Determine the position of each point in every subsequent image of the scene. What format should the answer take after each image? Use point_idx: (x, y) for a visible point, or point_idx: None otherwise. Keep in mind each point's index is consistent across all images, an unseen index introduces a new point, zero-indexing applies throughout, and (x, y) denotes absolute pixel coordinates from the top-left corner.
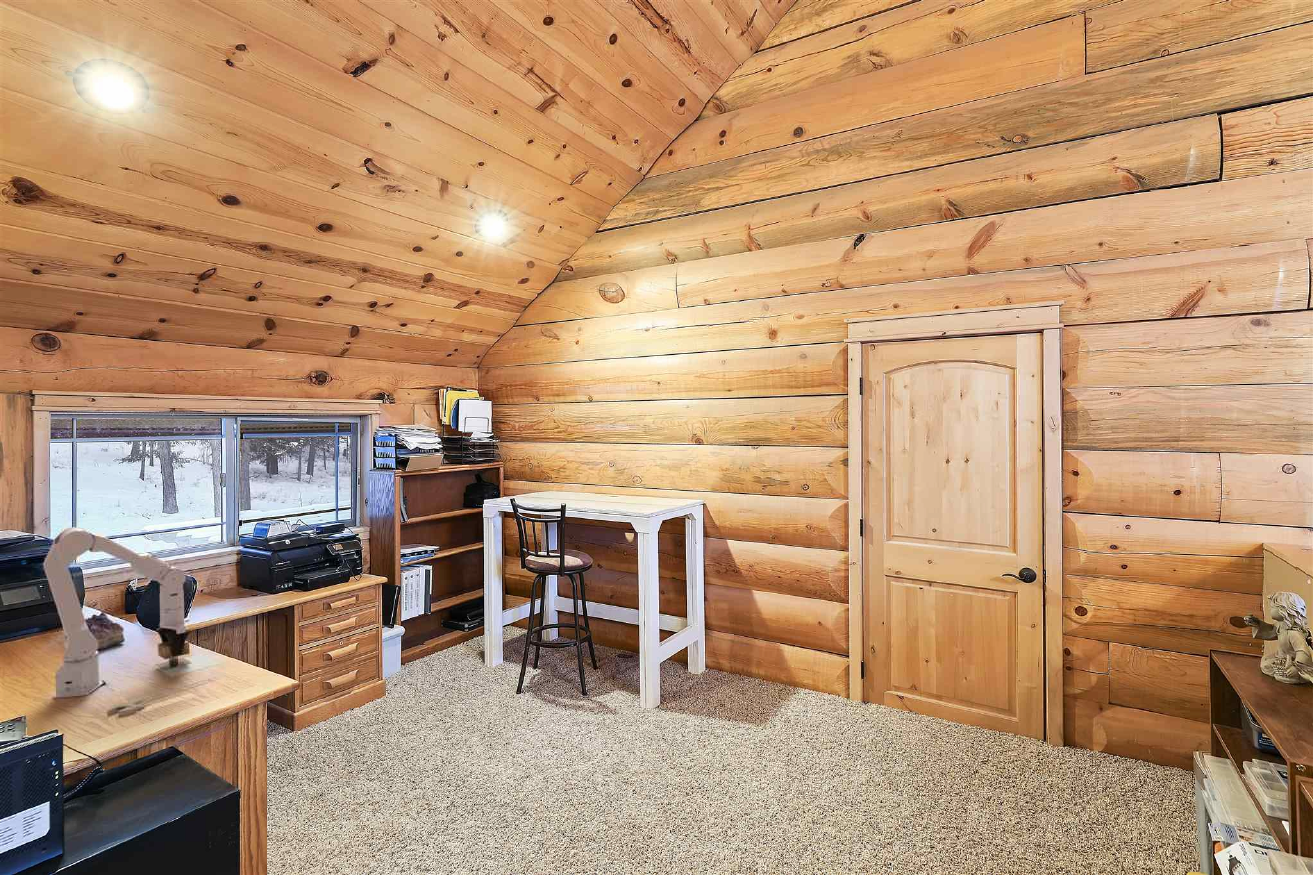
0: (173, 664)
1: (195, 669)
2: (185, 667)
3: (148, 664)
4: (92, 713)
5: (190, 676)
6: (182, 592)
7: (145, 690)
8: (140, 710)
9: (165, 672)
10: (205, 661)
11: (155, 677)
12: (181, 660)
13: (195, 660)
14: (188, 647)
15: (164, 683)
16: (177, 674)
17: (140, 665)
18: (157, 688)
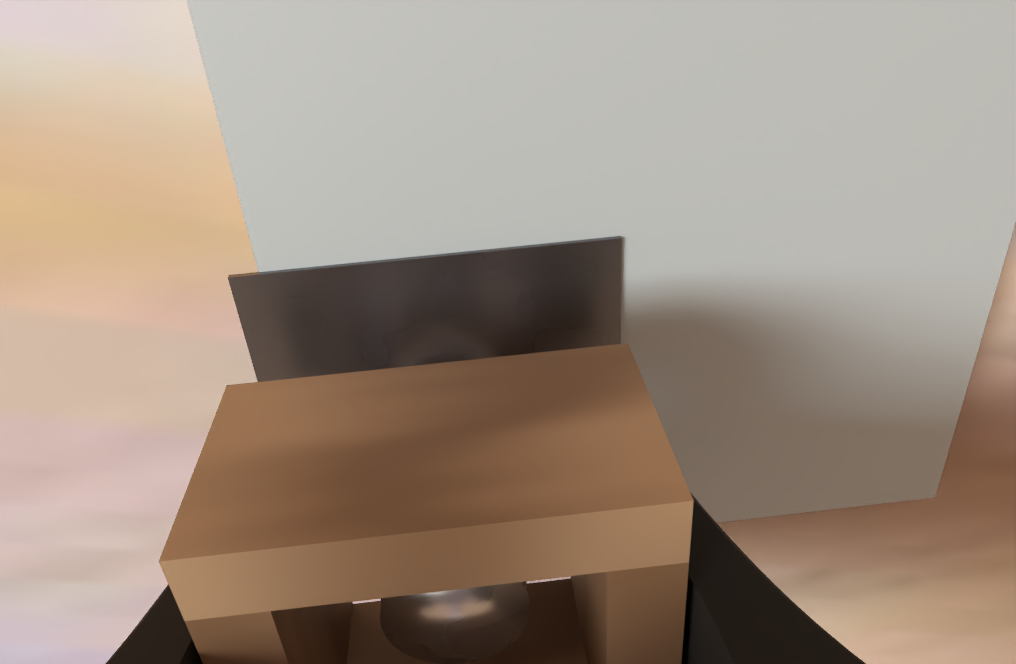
0: None
1: (966, 260)
2: (745, 334)
3: (71, 553)
4: None
5: (998, 307)
6: None
7: (946, 627)
8: None
9: (716, 513)
10: (730, 59)
11: None
12: (363, 320)
13: (524, 166)
14: (661, 429)
15: (932, 515)
16: (922, 439)
17: (55, 606)
18: (1003, 566)
